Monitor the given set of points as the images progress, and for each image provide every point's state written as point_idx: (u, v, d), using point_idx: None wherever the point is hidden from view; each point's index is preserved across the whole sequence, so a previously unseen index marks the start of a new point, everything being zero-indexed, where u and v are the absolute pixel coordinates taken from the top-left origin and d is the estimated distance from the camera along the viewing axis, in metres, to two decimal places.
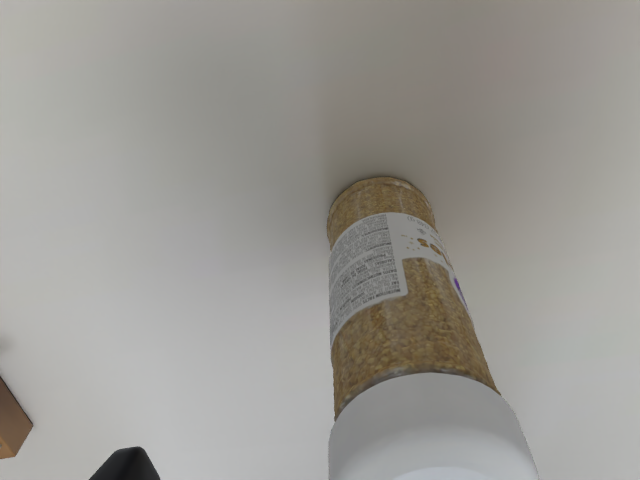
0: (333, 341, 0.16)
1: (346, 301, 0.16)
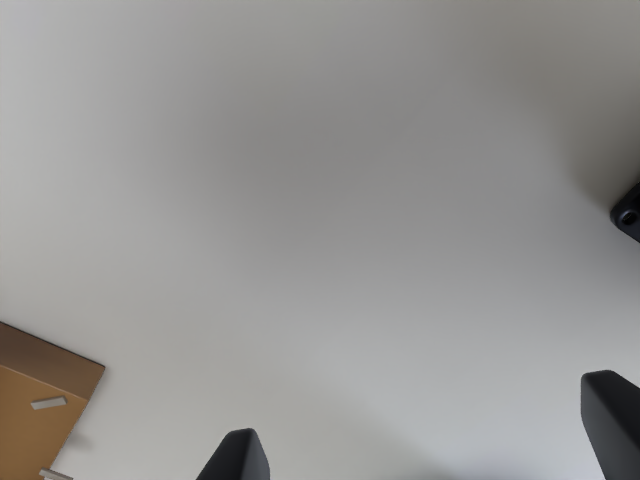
0: None
1: None
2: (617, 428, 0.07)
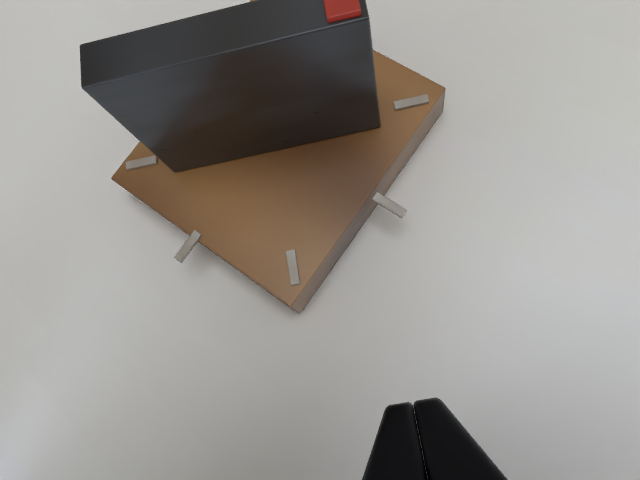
0: None
1: None
2: None
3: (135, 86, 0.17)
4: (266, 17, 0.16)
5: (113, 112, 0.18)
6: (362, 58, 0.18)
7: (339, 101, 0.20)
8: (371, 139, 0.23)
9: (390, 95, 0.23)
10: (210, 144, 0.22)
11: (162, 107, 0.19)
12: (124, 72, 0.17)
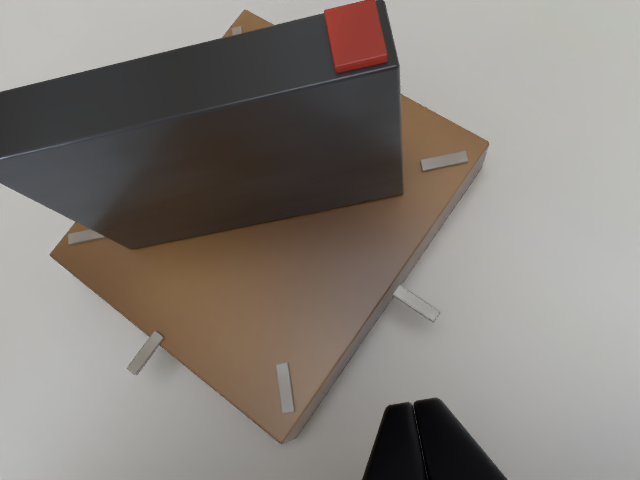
0: None
1: None
2: None
3: (49, 161, 0.12)
4: (242, 62, 0.11)
5: (25, 192, 0.13)
6: (385, 118, 0.12)
7: (349, 170, 0.14)
8: (390, 211, 0.17)
9: (415, 151, 0.17)
10: (174, 221, 0.16)
11: (97, 185, 0.13)
12: (29, 143, 0.11)
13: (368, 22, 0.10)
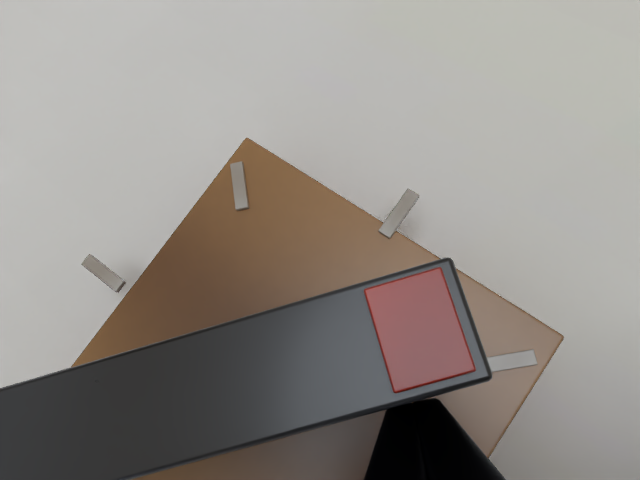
0: None
1: None
2: None
3: None
4: (243, 373, 0.07)
5: None
6: None
7: None
8: None
9: None
10: None
11: None
12: None
13: (437, 310, 0.07)
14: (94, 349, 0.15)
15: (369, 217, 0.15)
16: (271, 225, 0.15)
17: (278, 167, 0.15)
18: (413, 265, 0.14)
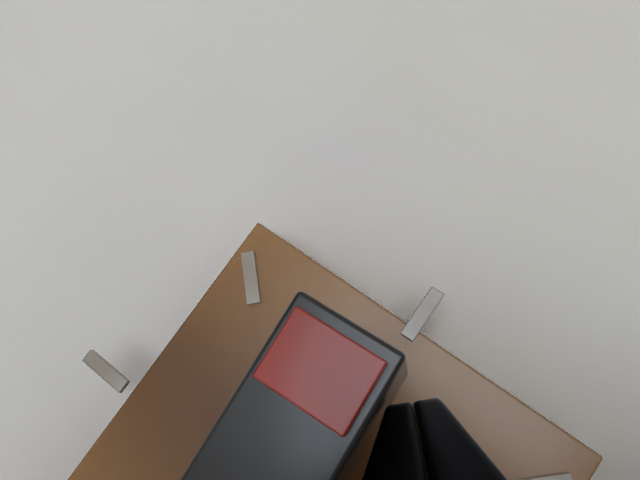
0: None
1: None
2: None
3: None
4: None
5: None
6: (396, 383, 0.08)
7: (370, 434, 0.10)
8: None
9: (498, 463, 0.12)
10: None
11: None
12: None
13: (321, 341, 0.07)
14: (96, 455, 0.14)
15: (390, 316, 0.14)
16: None
17: (292, 257, 0.15)
18: (438, 372, 0.13)
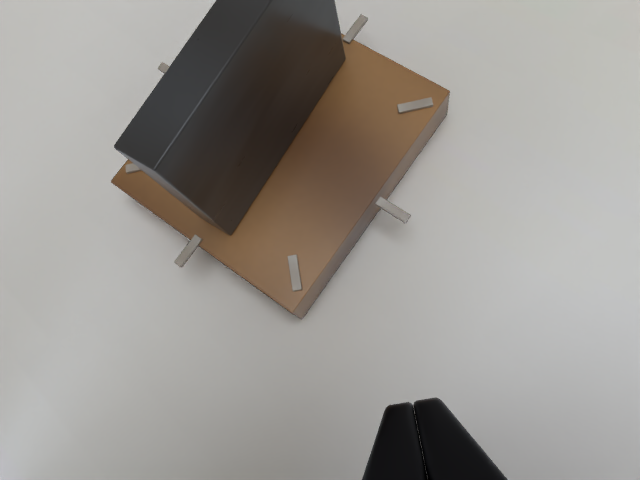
0: None
1: None
2: None
3: (191, 135, 0.16)
4: None
5: (180, 186, 0.17)
6: None
7: (318, 46, 0.21)
8: (374, 143, 0.22)
9: (394, 98, 0.23)
10: (249, 173, 0.21)
11: (212, 150, 0.18)
12: (177, 126, 0.16)
13: None
14: None
15: None
16: None
17: None
18: (363, 58, 0.23)
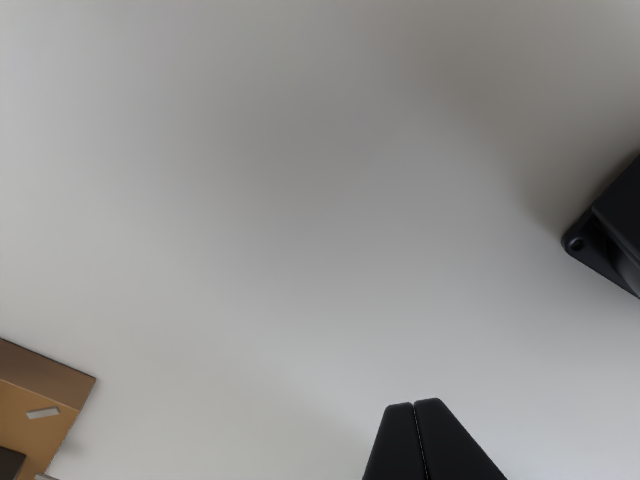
0: None
1: None
2: None
3: None
4: None
5: None
6: None
7: None
8: None
9: None
10: None
11: None
12: None
13: None
14: None
15: None
16: None
17: None
18: None
